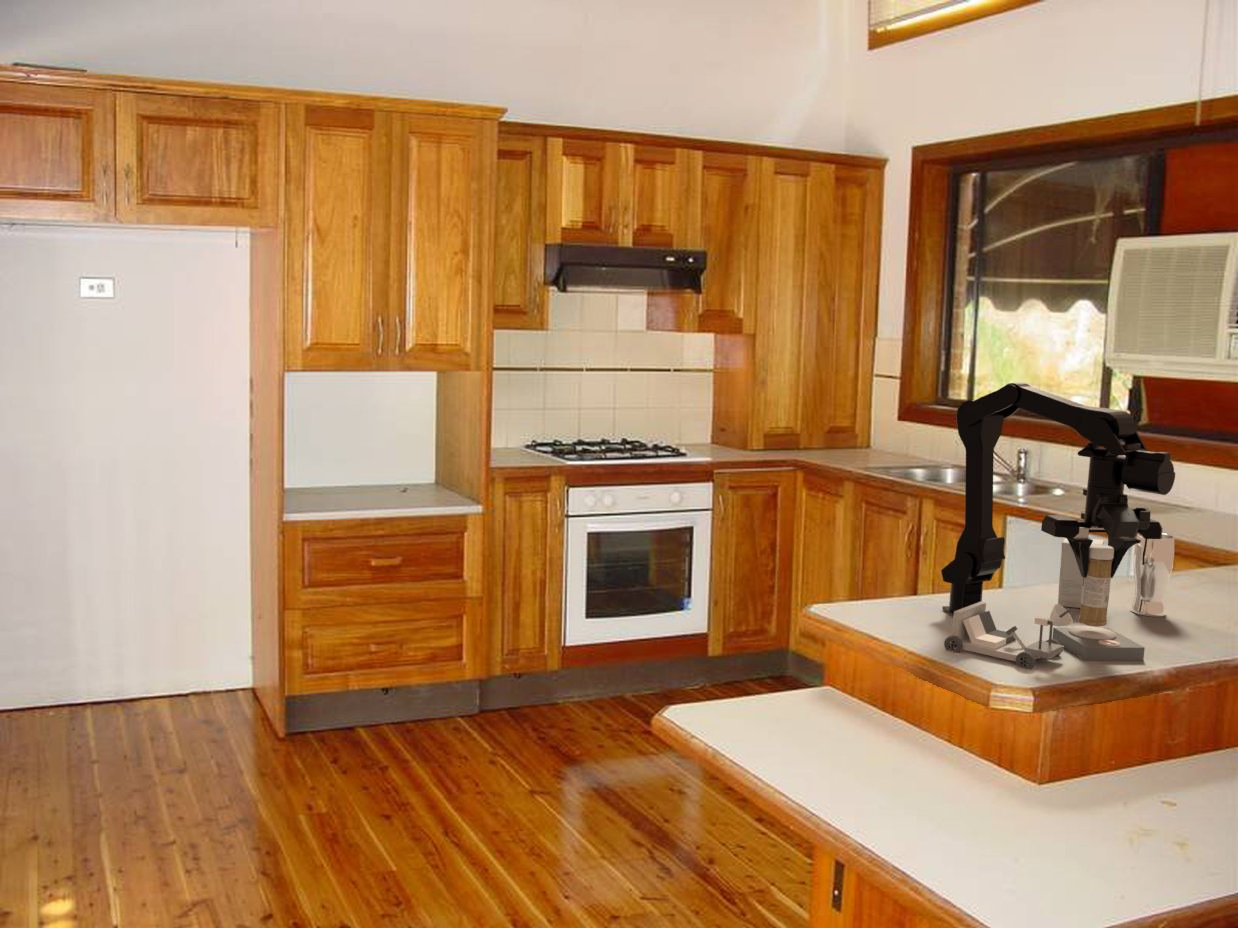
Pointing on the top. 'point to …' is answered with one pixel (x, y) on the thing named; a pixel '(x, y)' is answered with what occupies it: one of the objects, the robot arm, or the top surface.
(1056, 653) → the toy go kart
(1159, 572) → the beer glass
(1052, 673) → the top surface
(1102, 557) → the sprinkles bottle
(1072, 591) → the supplement box
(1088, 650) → the kitchen scale
